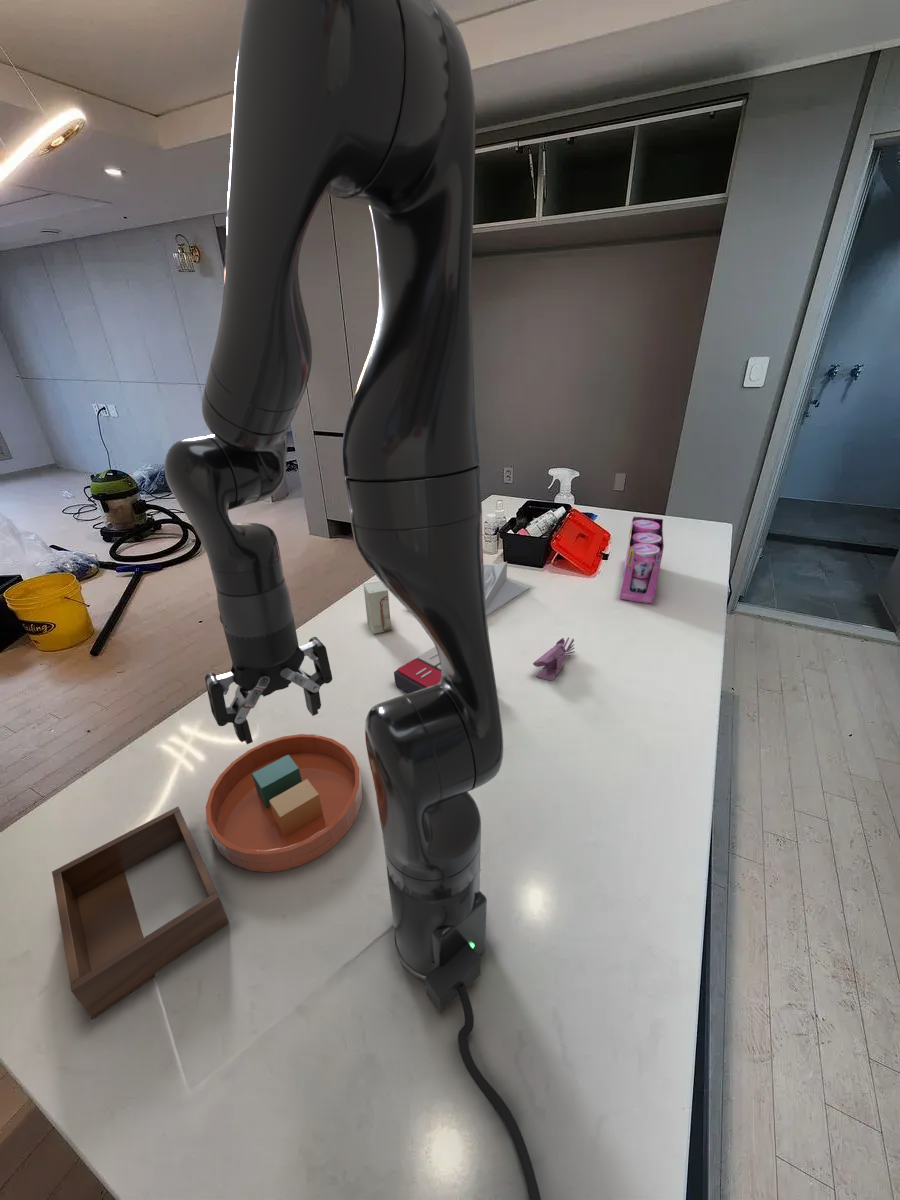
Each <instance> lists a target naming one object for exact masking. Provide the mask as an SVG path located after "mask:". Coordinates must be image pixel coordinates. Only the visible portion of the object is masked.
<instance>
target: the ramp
mask: <svg viewBox="0 0 900 1200" xmlns="http://www.w3.org/2000/svg"><path fill="white" fill-rule="evenodd" d="M483 565H484V583H485V599H486V612H487V616H489V615H490V614H492V613H494V612H495V611H496V610H498V609H499V608H501V607H503V606H504V605H506V604H507V603H509V602H510V601H512V600H514V599H515V598H517V597H518V596H519V595H521V594H523V593H524V592H526V591H527V590H528V589H530V588H531V587H530V586H528V585H525V584H523V583H519V582H516V581H513V580H511V579H508V578H507V576H508V561H504V562H500V563H495V564H483Z"/></svg>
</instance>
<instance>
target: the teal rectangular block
mask: <svg viewBox="0 0 900 1200" xmlns="http://www.w3.org/2000/svg"><path fill="white" fill-rule="evenodd" d="M252 776H253V780H254V783H255V787H256V790H257V793H258V795H259V796H260V798H261V800H262V801H263V803H264V804H265V806H266V808H269V807H270V802H269V800H271V799H272V798H274V797H276V796H278V795H279V794H281V793H283V792H285V791H287V790H288V789H290V788H292V787H294V786H295V785H297V784H299V783H301V782H302V779H301V775H300V771H299V768H298V766H297V765H296V764H295V762H294V761H293V760H292V758H291V757H290V756H289V755H286V756H285V757H283V758H281V759H279V760H277V761H275V762H273V763H271V764H269V765H267V766H265V767H264V768H262V769H260V770H258V771H256V772H254V773H252Z"/></svg>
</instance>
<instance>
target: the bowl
mask: <svg viewBox="0 0 900 1200" xmlns="http://www.w3.org/2000/svg"><path fill="white" fill-rule="evenodd" d="M286 755H289V756H290V757H291V758H292V760H293V761H294V762H295V764H296V765H297V766H298V768H299V771H300V775H301V779H302V781H304V780H306V779H308V781H309V782H310V783H311V785H312V786H313V787H314V789H315V790H316V791H317V792H318V794H319V797H320V802H321V807H322V812H323V815H321V816H319V817H318V818H316V819H314V820H313V821H311V822H310V823H308V824H306V825H305V826H303V827H302V828H300V829H298V830H297V831H295V832H293V833H292V834H290V835H289V836H287V837H285V836H284V834H283V833H282V831H281V830H280V828H279V827H278V825H277V823H276V822H275V820H274V816H273V813H272V809H271V806H270V807H269V808H266V806H265V804H264V803H263V801H262V800H261V798H260V796H259V795H258V793H257V790H256V787H255V783H254V780H253V776H252V773H254V772H256V771H258V770H260V769H262V768H264V767H265V766H267V765H269V764H271V763H273V762H275V761H277V760H279V759H281V758H283V757H285V756H286ZM359 767H360V766H359V765H358V762H357V760H356V757H355V756H354V754H353V753H352V752H351V750H349V748H348V747H346V746H345V745H344V744H342V743H340V742H339V741H337V740H335V739H333V738H330V737H326V736H322V735H319V734H306V733H298V734H292V735H291V734H290V735H285V736H284V735H283V736H281V737H277V738H274V739H270V740H266V741H265V742H262V743H260V744H258V745H256V746H255V747H252V748H251V749H249V750H247V751H246V752H244V753H243V754H241V755H240V756H238V757H237V758H235V760H233V761H232V762H231V763H230V764H229V765H228V766H226V768H225V769H224V770H223V771H222V772H221V773H220V775H218V777H217V779H216V781H215V782H214V784H213V785H212V787H211V789H210V791H209V793H208V798H207V801H206V803H205V804H206V805H205V818H206V825H207V827H208V831H209V832H210V835H211V837H212V840H213V842H214V844H215V847H216V848H217V850H218V853H219V854H220V855H221V856H222V857H224V858H225V859H226V860H227V861H228V862H229V863H231V864H232V865H234V866H236V867H239V868H241V869H244V870H247V871H252V872H259V873H275V872H280V871H287V870H290V869H294V868H297V867H300V866H303V865H305V864H307V863H310V862H312V861H314V860H316V859H317V858H319V857H321V856H322V855H324V854H325V853H326V852H328V851H329V850H331V849H332V848H334V847H335V845H336V844H338V843H339V842H340V841H341V840H342V839H343V838H344V837H345V835H346V834H347V833H348V832H349V830H350V829H351V827H352V826H353V824H354V822H355V820H356V819H357V817H358V815H359V812H360V808H361V805H362V802H363V788H362V779H361V771H360V768H359Z"/></svg>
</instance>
